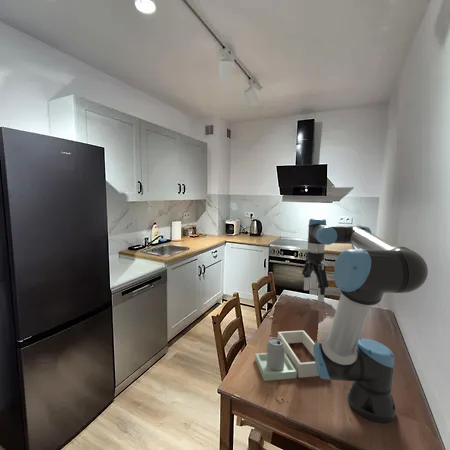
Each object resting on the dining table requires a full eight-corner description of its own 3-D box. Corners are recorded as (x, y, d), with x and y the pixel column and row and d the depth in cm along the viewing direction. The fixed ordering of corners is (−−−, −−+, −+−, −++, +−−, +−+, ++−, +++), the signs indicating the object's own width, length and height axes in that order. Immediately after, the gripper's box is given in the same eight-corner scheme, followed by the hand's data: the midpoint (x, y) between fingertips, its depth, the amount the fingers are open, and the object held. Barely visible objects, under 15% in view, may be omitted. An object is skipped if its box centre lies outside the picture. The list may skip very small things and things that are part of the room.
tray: (296, 378, 108) (296, 371, 108) (264, 381, 106) (264, 374, 106) (284, 357, 122) (284, 351, 122) (255, 359, 120) (255, 353, 120)
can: (284, 373, 109) (285, 346, 108) (266, 371, 111) (267, 344, 109) (283, 362, 117) (284, 337, 115) (266, 360, 118) (267, 335, 117)
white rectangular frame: (329, 374, 111) (330, 361, 110) (298, 377, 108) (299, 364, 108) (303, 341, 136) (303, 330, 135) (277, 342, 134) (277, 331, 133)
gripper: (338, 257, 110) (335, 305, 112) (310, 246, 134) (308, 285, 137) (322, 258, 108) (319, 306, 111) (296, 246, 133) (294, 286, 135)
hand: (313, 295), depth 124 cm, fingers open, 13 cm apart
